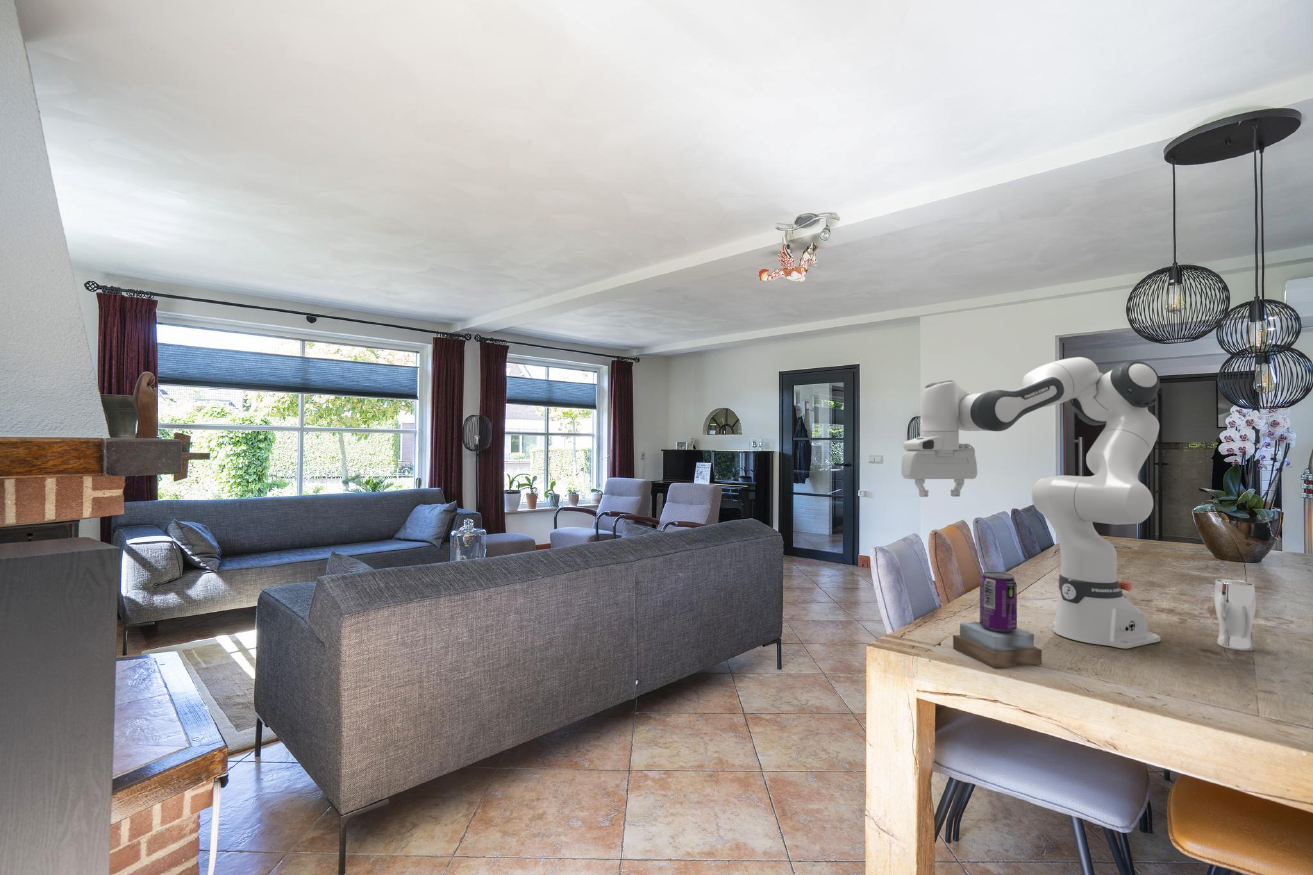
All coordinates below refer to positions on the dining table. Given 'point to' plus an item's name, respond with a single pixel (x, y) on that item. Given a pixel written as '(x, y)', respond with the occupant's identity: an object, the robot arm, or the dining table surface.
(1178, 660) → the dining table surface
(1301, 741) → the dining table surface
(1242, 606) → the beer glass
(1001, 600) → the beverage can
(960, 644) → the stepped plinth
